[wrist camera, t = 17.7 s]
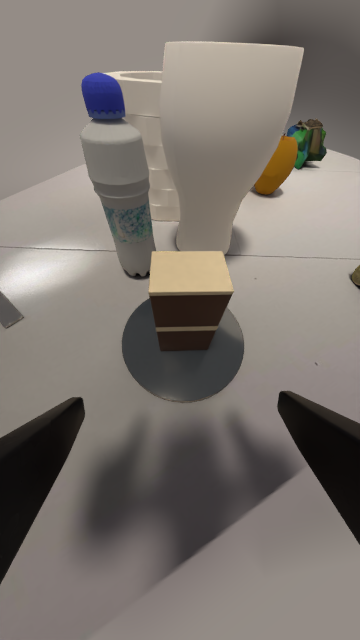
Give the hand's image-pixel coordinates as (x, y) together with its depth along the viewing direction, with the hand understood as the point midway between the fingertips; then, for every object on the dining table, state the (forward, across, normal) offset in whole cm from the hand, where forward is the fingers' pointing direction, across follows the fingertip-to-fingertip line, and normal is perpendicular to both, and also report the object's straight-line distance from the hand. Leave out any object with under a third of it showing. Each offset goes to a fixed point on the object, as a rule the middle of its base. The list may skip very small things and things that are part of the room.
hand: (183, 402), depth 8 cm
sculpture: (+67, -47, -49) cm, 95 cm away
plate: (+15, -1, +2) cm, 16 cm away
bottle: (+26, +6, -8) cm, 28 cm away
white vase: (+31, -6, -13) cm, 34 cm away
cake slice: (+15, -1, +2) cm, 15 cm away
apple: (+49, -27, -31) cm, 64 cm away
